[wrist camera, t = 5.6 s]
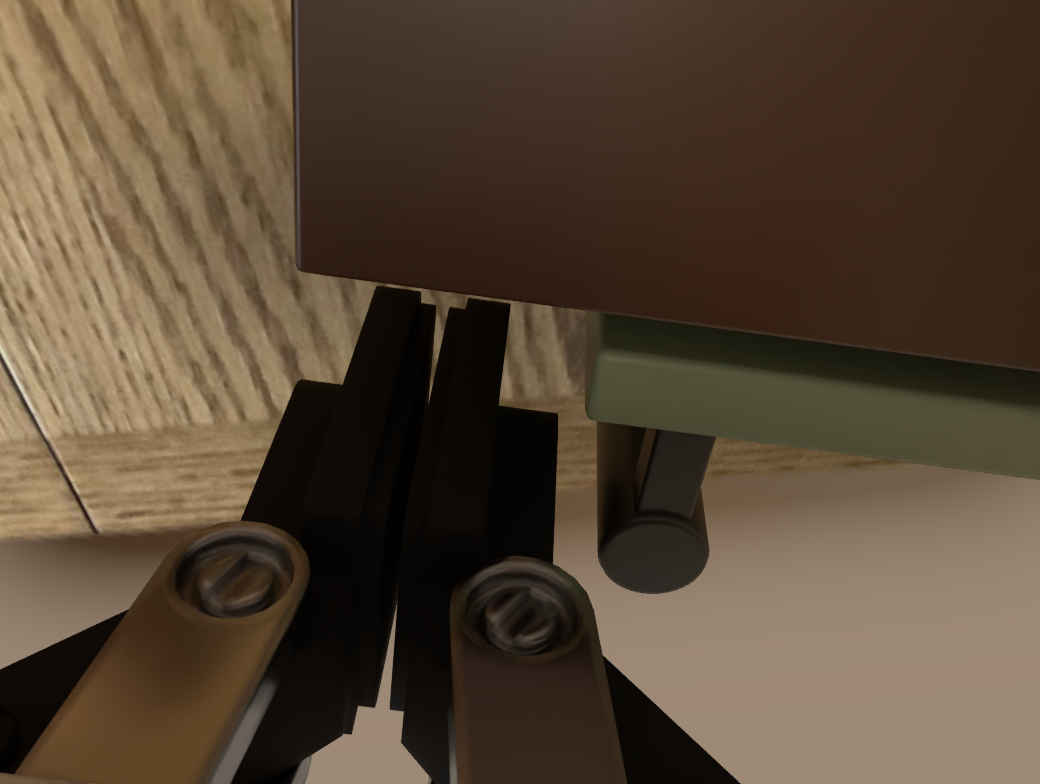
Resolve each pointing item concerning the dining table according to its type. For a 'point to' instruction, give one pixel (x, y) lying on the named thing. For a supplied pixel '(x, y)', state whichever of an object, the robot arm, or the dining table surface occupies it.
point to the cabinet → (686, 161)
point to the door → (770, 424)
